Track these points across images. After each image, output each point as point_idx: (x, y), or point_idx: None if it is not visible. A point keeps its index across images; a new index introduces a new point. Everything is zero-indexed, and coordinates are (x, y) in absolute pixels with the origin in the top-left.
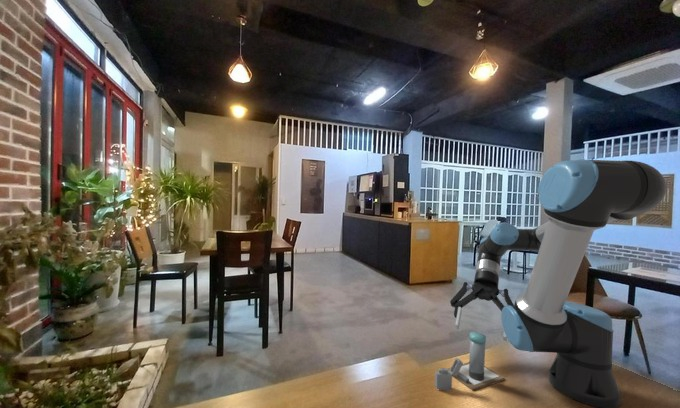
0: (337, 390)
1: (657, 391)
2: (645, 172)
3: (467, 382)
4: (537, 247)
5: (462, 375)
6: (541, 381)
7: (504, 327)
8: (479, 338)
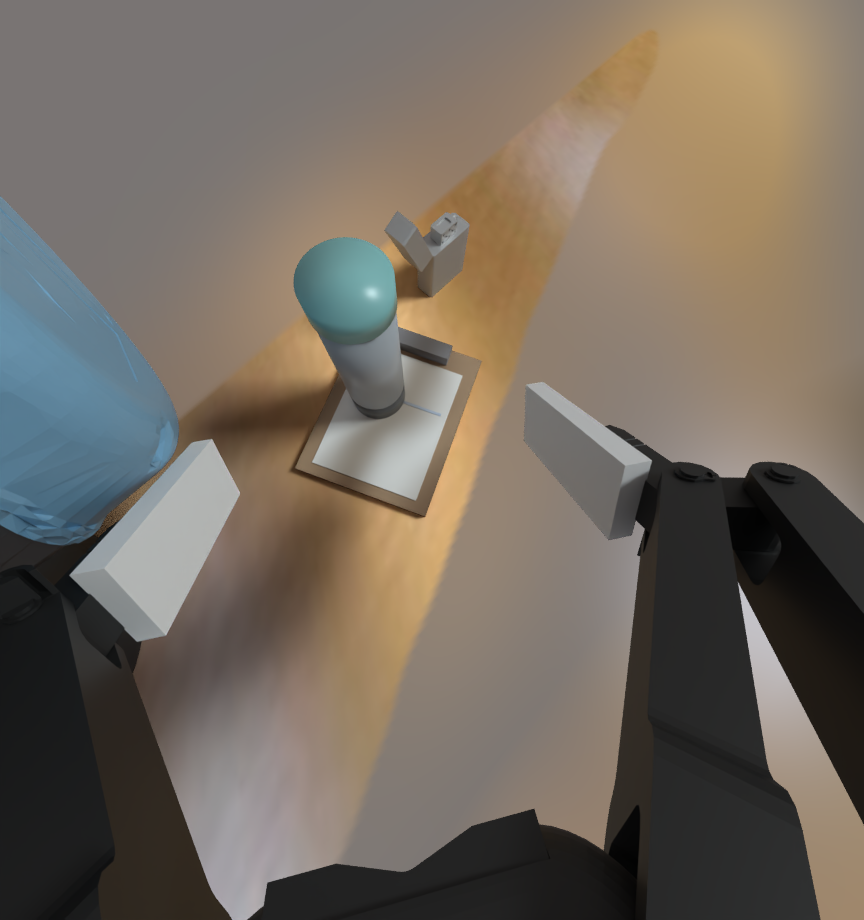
0: (623, 99)
1: None
2: None
3: None
4: None
5: (410, 340)
6: None
7: (138, 380)
8: (321, 243)
